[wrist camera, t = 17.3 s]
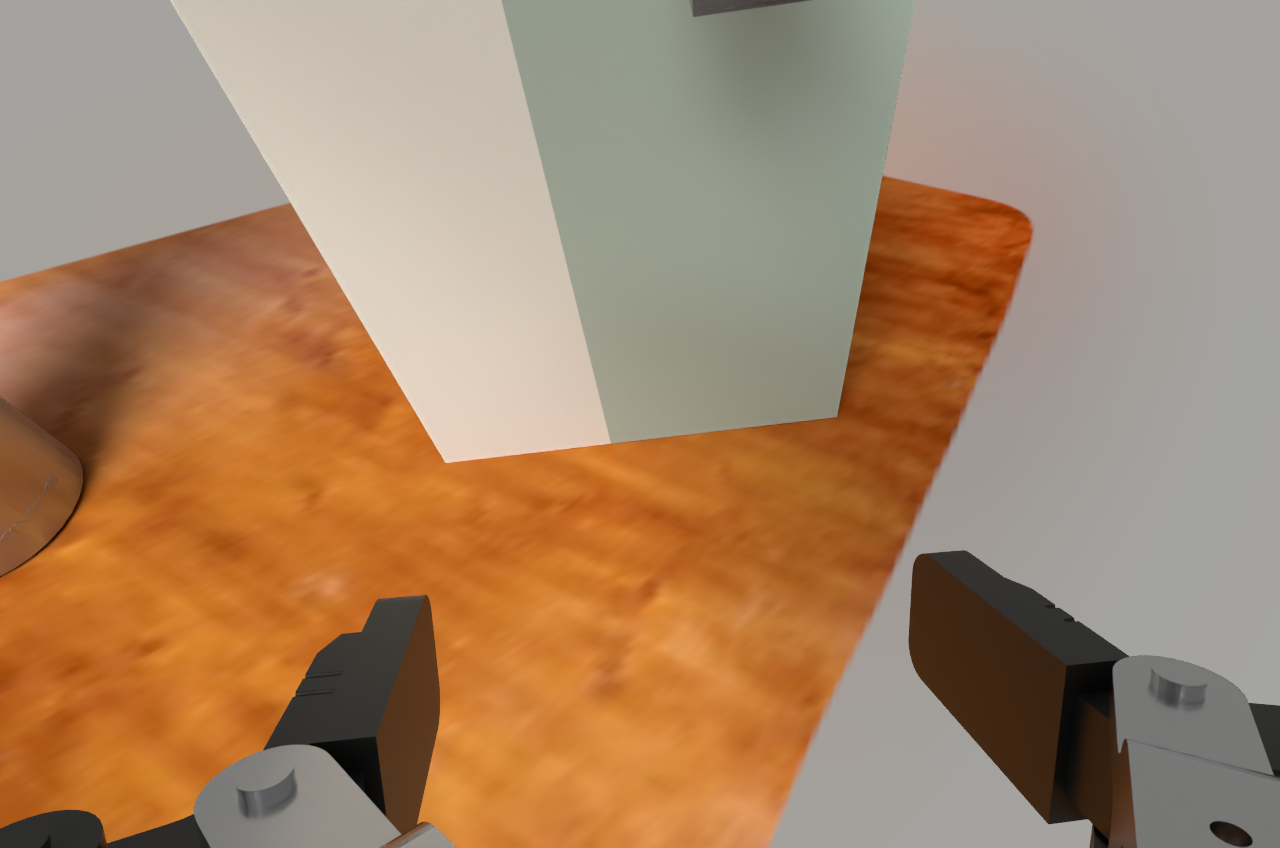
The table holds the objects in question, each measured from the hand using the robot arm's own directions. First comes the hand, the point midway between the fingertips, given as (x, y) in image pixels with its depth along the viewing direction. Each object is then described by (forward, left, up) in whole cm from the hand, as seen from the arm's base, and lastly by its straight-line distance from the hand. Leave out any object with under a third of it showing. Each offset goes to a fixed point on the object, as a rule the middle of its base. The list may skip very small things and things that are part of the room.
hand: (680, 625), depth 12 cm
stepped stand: (-10, +24, -21) cm, 33 cm away
